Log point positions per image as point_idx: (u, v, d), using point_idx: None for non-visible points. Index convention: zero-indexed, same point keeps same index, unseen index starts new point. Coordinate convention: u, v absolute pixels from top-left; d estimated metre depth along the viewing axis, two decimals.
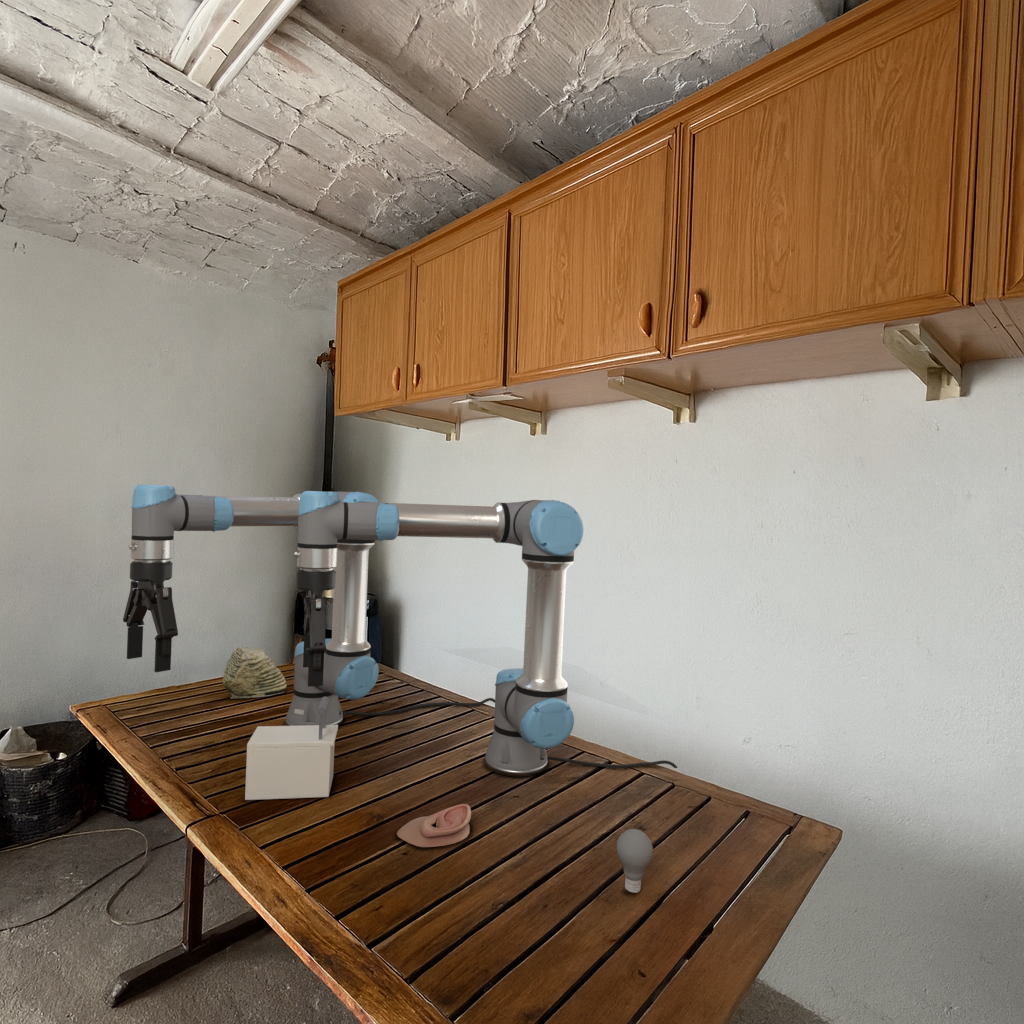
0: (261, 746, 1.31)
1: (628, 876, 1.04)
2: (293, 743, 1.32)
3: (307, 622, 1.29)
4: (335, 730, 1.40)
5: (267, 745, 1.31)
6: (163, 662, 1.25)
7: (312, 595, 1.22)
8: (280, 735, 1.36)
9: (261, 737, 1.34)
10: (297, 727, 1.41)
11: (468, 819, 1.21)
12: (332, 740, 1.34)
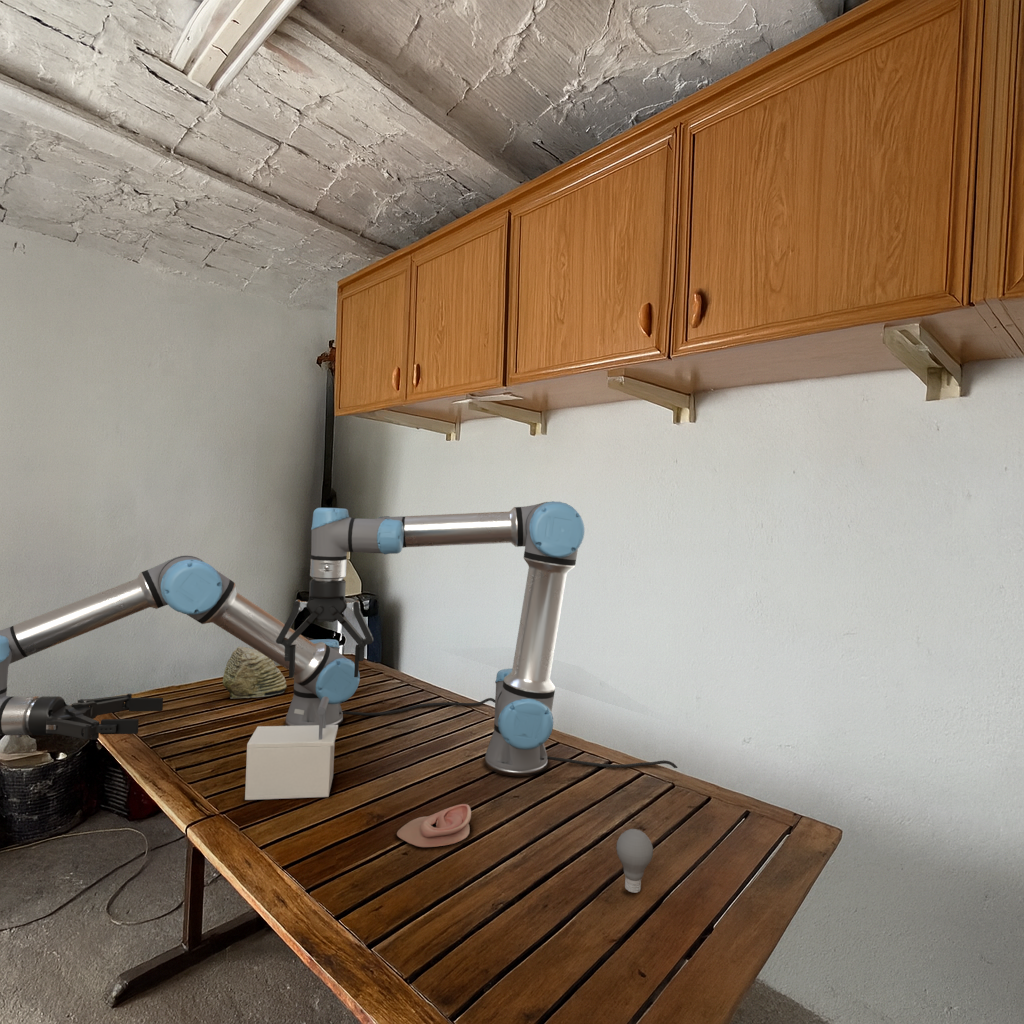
0: (261, 746, 1.31)
1: (628, 876, 1.04)
2: (293, 743, 1.32)
3: None
4: (335, 730, 1.40)
5: (267, 745, 1.31)
6: (127, 727, 1.25)
7: (344, 601, 1.38)
8: (280, 735, 1.36)
9: (261, 737, 1.34)
10: (297, 727, 1.41)
11: (468, 819, 1.21)
12: (332, 740, 1.34)
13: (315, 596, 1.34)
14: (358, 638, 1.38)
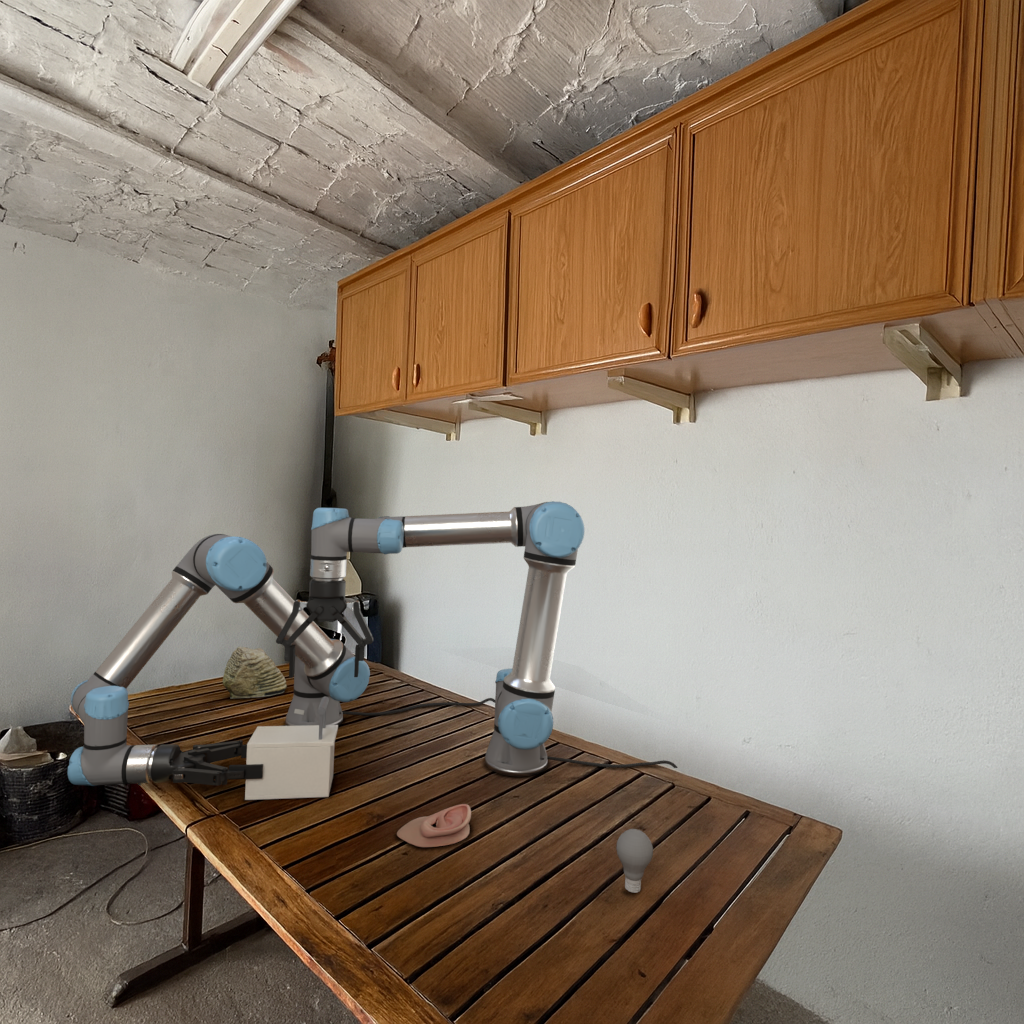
0: (261, 746, 1.31)
1: (628, 876, 1.04)
2: (293, 743, 1.32)
3: None
4: (335, 730, 1.40)
5: (267, 745, 1.31)
6: (253, 772, 1.30)
7: (344, 601, 1.38)
8: (280, 735, 1.36)
9: (261, 737, 1.34)
10: (297, 727, 1.41)
11: (468, 819, 1.21)
12: (332, 740, 1.34)
13: (315, 596, 1.34)
14: (358, 638, 1.38)
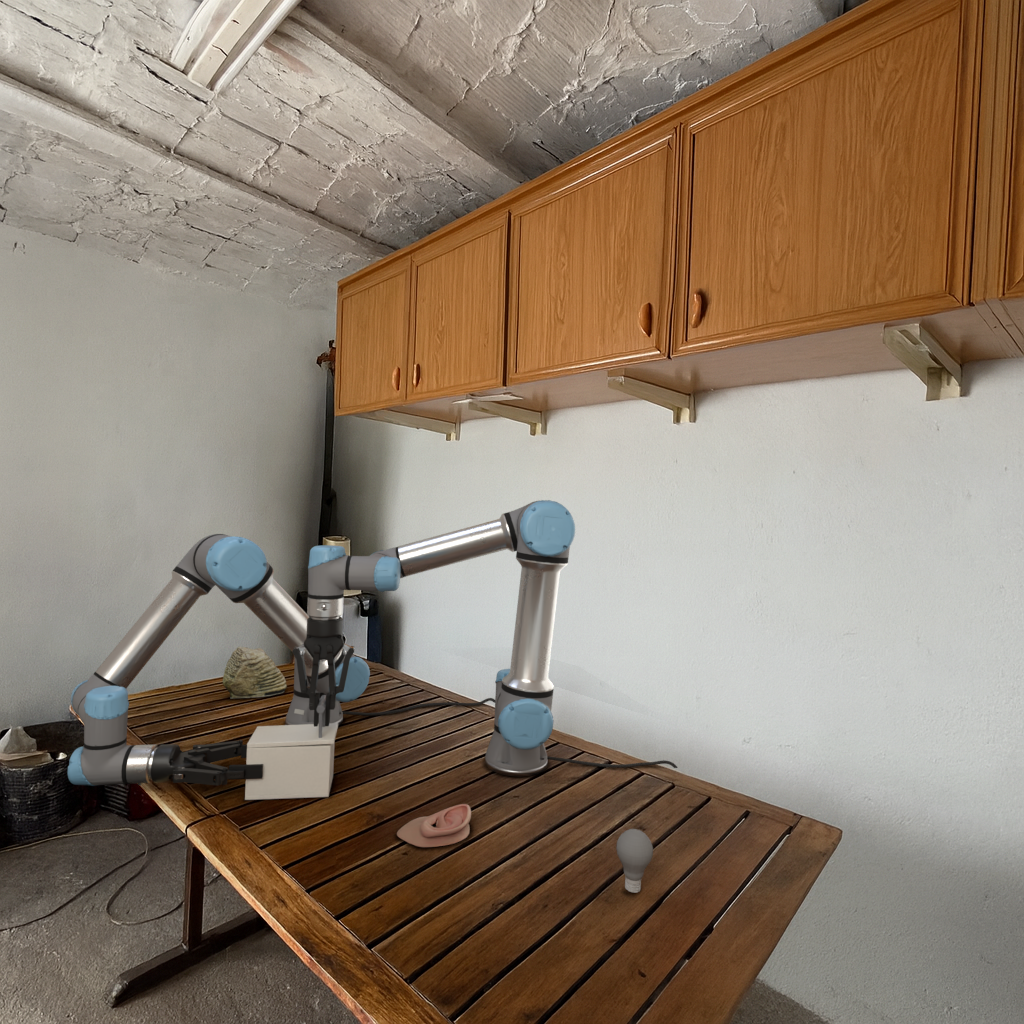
0: (261, 745, 1.31)
1: (628, 876, 1.04)
2: (293, 742, 1.32)
3: (317, 675, 1.37)
4: (335, 728, 1.40)
5: (267, 744, 1.31)
6: (253, 772, 1.30)
7: (341, 638, 1.38)
8: (280, 734, 1.36)
9: (261, 737, 1.34)
10: (297, 726, 1.41)
11: (468, 819, 1.21)
12: (332, 738, 1.34)
13: (312, 635, 1.34)
14: (333, 686, 1.37)
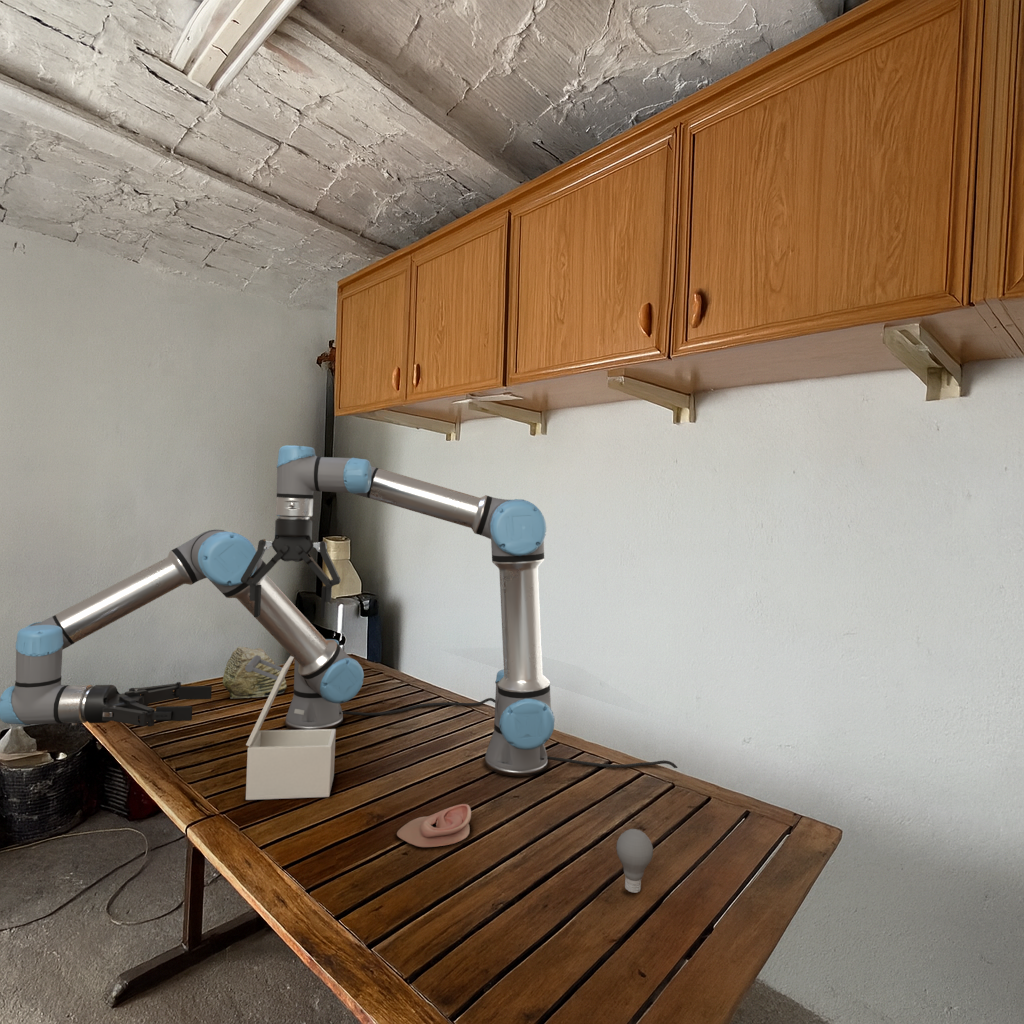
0: (253, 733, 1.31)
1: (628, 876, 1.04)
2: (265, 704, 1.31)
3: (267, 571, 1.34)
4: (287, 660, 1.38)
5: (256, 727, 1.31)
6: (181, 714, 1.26)
7: (310, 540, 1.36)
8: None
9: None
10: None
11: (468, 819, 1.21)
12: (282, 668, 1.32)
13: (280, 534, 1.33)
14: (325, 578, 1.36)
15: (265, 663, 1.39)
